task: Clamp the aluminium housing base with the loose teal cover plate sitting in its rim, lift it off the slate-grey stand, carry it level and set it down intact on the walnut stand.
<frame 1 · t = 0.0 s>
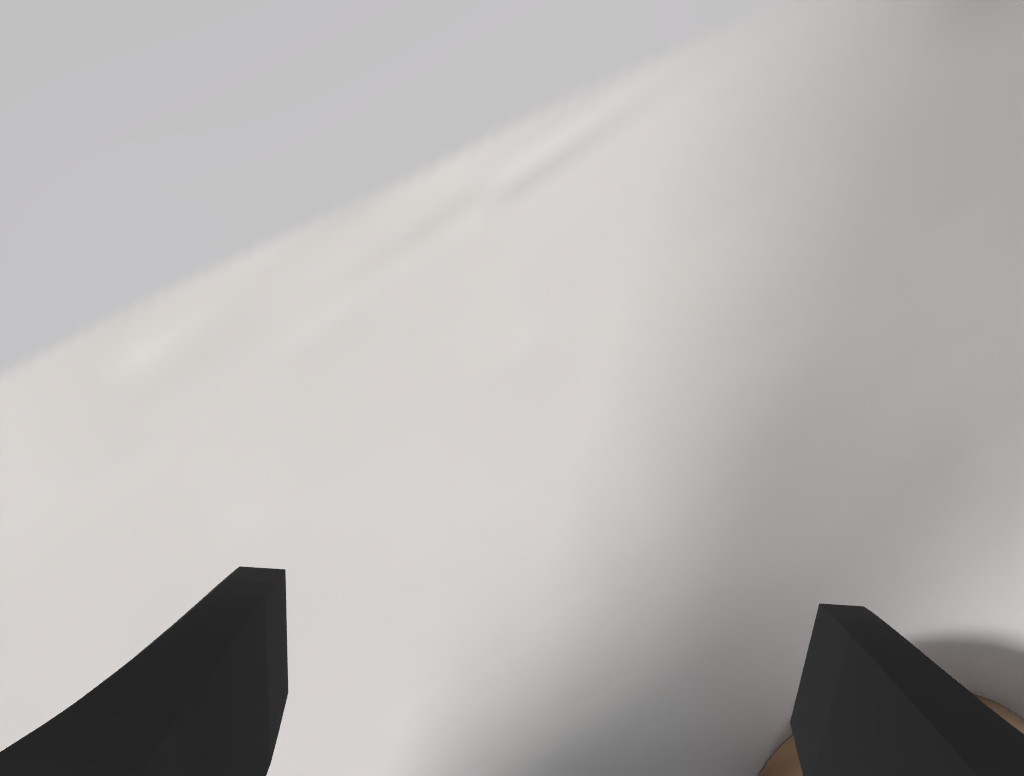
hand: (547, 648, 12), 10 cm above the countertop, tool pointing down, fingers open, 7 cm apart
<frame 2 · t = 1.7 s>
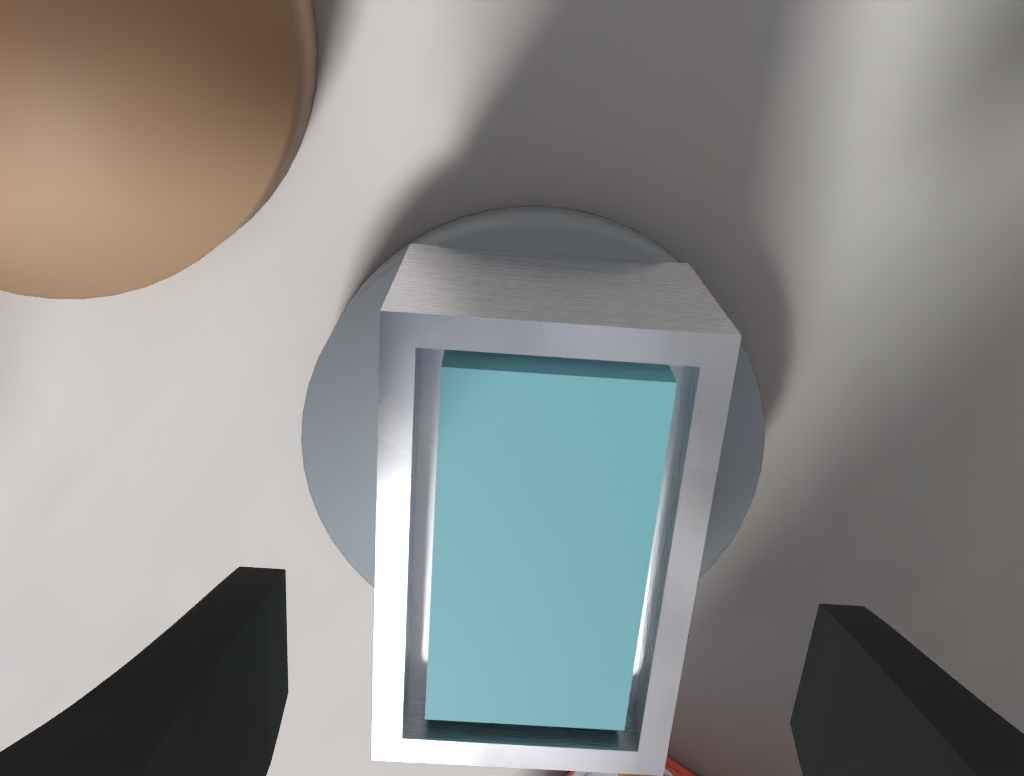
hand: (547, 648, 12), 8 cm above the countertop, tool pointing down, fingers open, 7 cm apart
grey stand: (530, 417, 19), on the countertop
cover plate: (539, 537, 15), point 5 cm above the countertop, touching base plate
walnut stand: (68, 31, 16), on the countertop
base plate: (531, 454, 18), point 2 cm above the countertop, touching cover plate, grey stand
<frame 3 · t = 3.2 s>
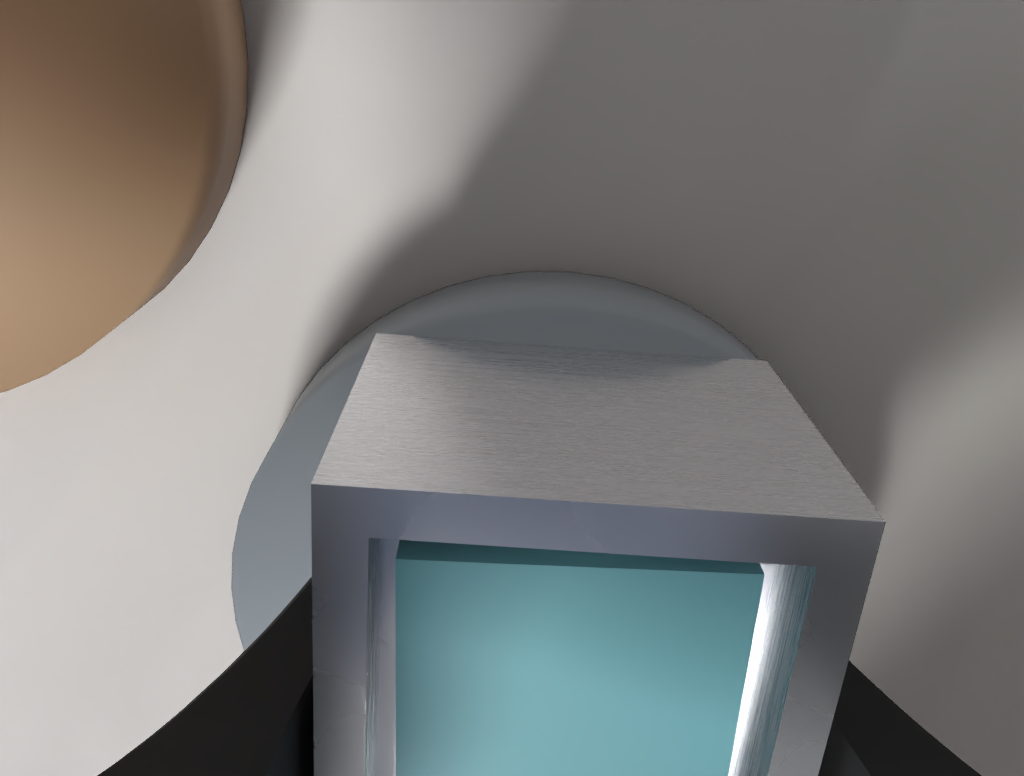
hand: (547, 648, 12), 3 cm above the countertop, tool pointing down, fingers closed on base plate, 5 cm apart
grey stand: (541, 540, 15), on the countertop
cover plate: (554, 766, 10), point 5 cm above the countertop, touching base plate
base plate: (544, 607, 13), point 2 cm above the countertop, touching cover plate, grey stand, gripper
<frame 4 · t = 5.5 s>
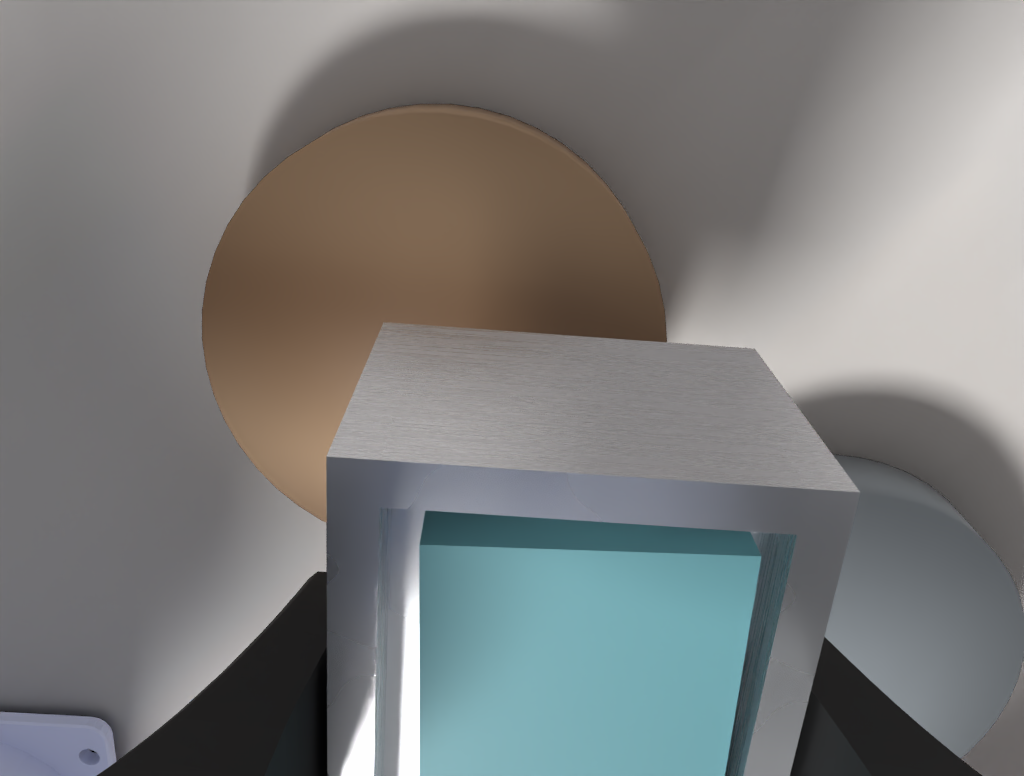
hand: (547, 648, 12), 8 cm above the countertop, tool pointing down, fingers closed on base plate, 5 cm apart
grey stand: (798, 619, 22), on the countertop
cover plate: (566, 741, 11), point 10 cm above the countertop, touching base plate
walnut stand: (441, 324, 19), on the countertop
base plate: (544, 586, 14), point 7 cm above the countertop, touching cover plate, gripper
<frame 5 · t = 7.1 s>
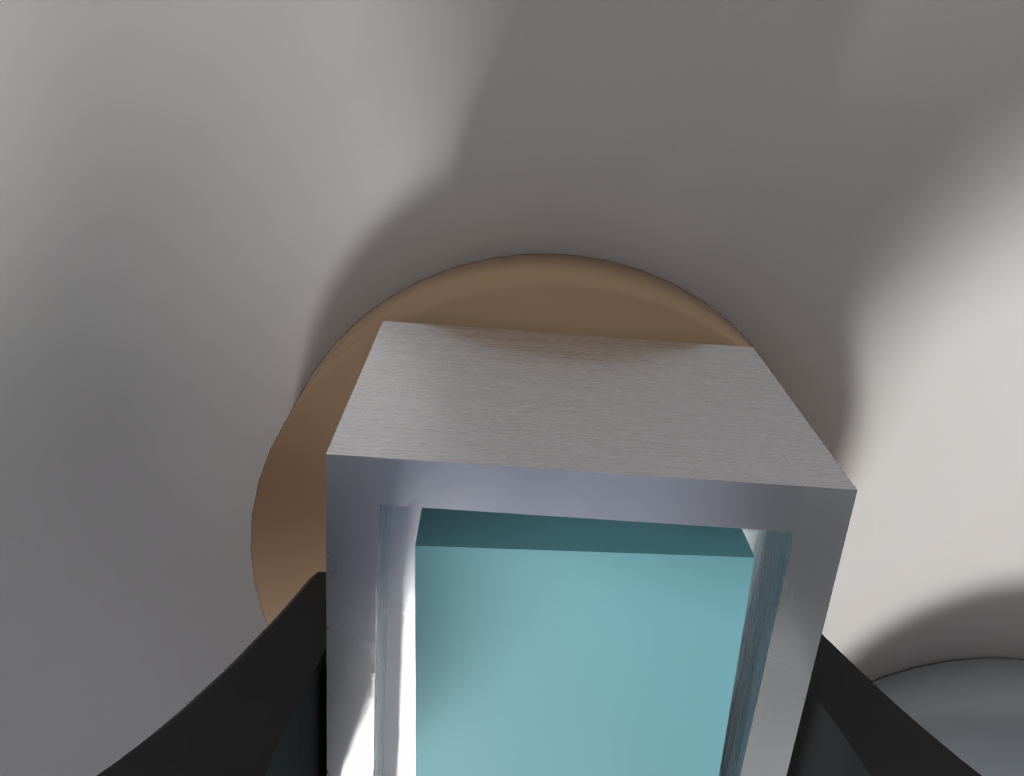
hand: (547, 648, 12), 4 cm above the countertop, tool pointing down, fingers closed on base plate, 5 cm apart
cover plate: (562, 741, 11), point 5 cm above the countertop, touching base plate
walnut stand: (540, 509, 16), on the countertop
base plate: (543, 584, 14), point 2 cm above the countertop, touching cover plate, gripper
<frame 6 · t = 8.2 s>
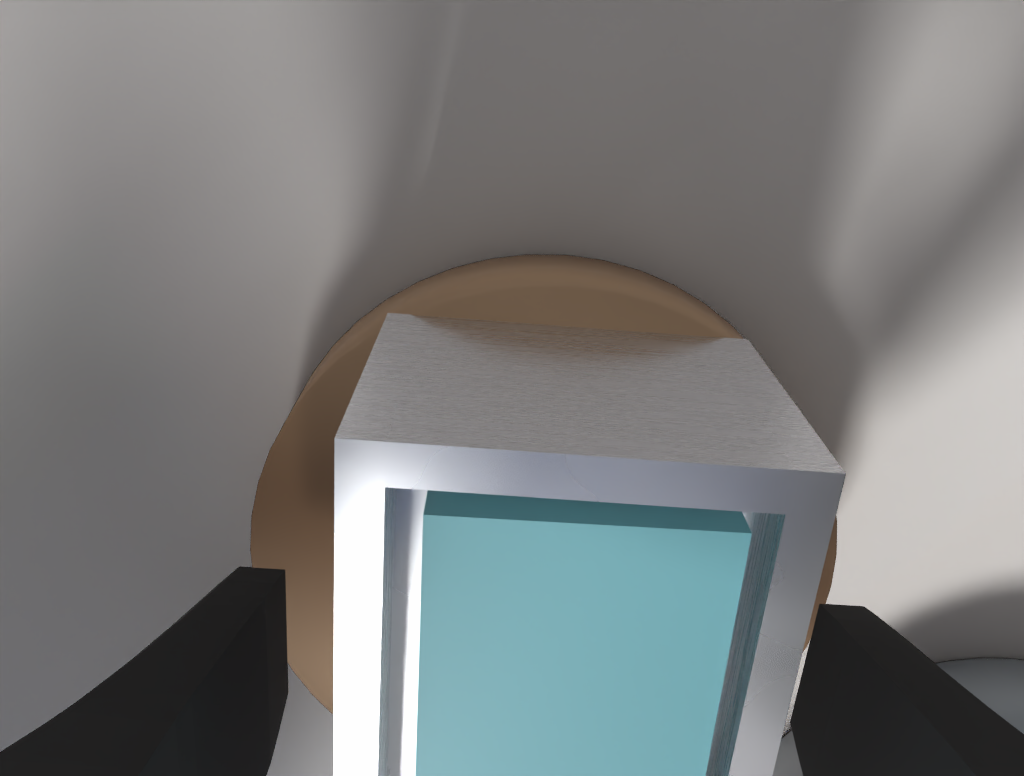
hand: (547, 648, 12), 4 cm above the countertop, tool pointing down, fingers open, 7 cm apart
cover plate: (558, 713, 11), point 5 cm above the countertop, touching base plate
walnut stand: (539, 509, 16), on the countertop
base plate: (543, 571, 14), point 2 cm above the countertop, touching cover plate, walnut stand
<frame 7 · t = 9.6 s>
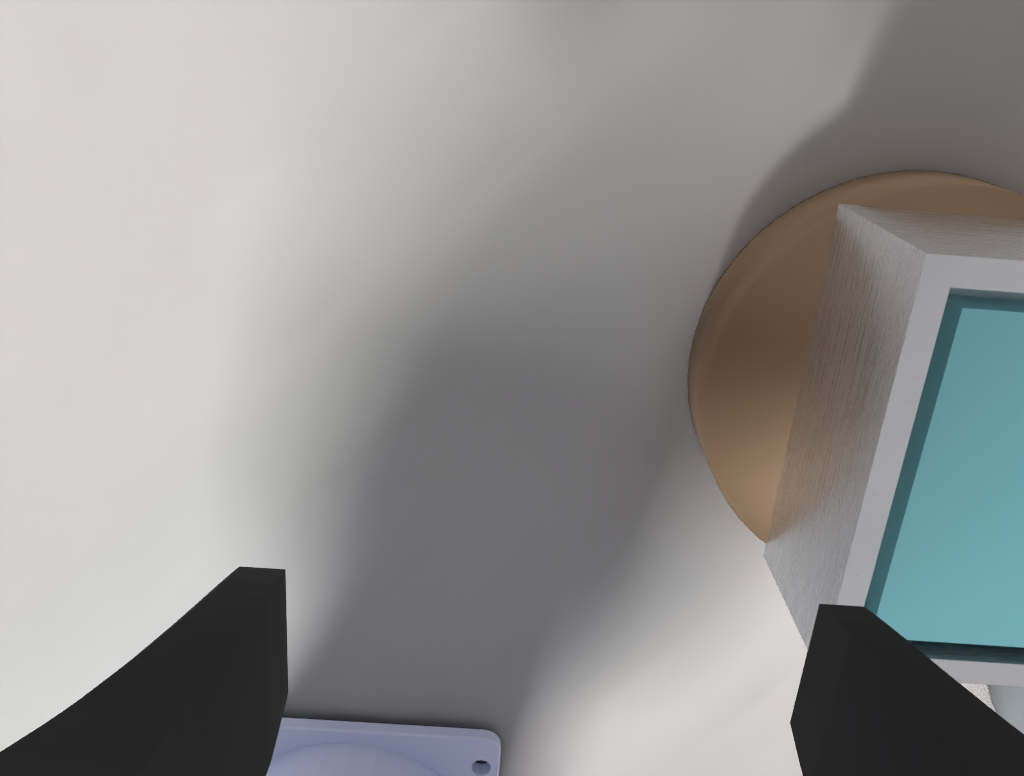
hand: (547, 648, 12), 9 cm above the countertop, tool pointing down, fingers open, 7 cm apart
cover plate: (987, 470, 16), point 5 cm above the countertop, touching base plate
walnut stand: (884, 369, 21), on the countertop
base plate: (915, 402, 19), point 2 cm above the countertop, touching cover plate, walnut stand
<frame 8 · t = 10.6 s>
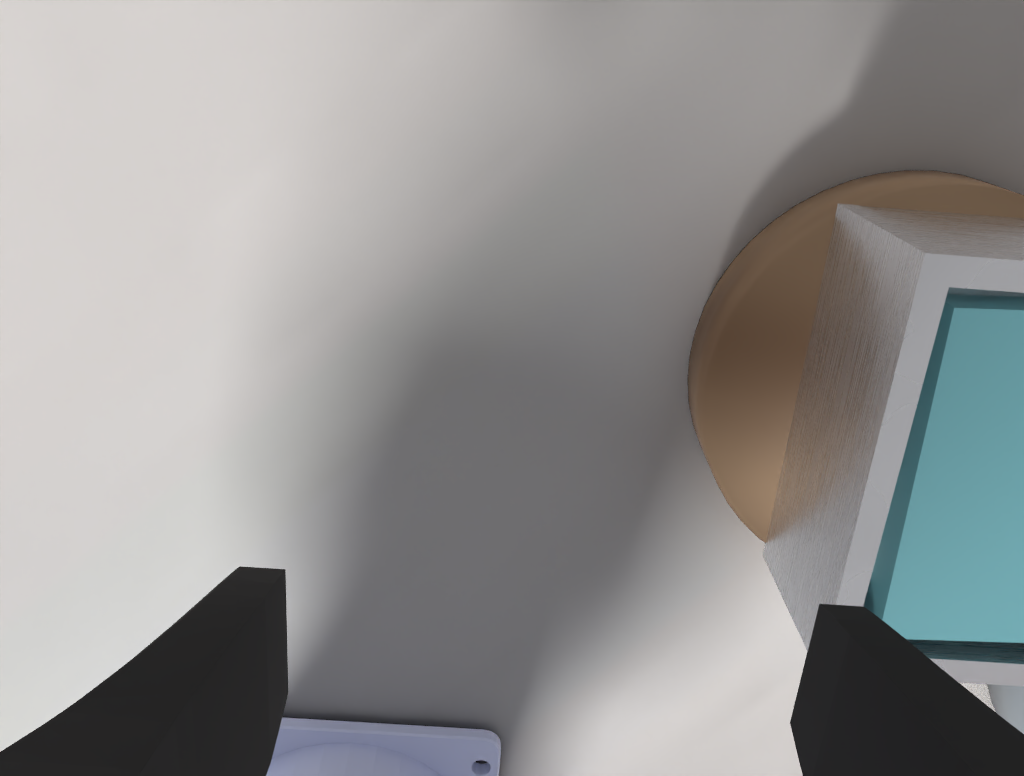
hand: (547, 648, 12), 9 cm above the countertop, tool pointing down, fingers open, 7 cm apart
cover plate: (988, 467, 16), point 5 cm above the countertop, touching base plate
walnut stand: (884, 369, 21), on the countertop
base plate: (914, 401, 19), point 2 cm above the countertop, touching cover plate, walnut stand
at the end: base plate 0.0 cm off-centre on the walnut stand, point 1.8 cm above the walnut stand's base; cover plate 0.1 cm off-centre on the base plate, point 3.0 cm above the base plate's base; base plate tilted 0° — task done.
